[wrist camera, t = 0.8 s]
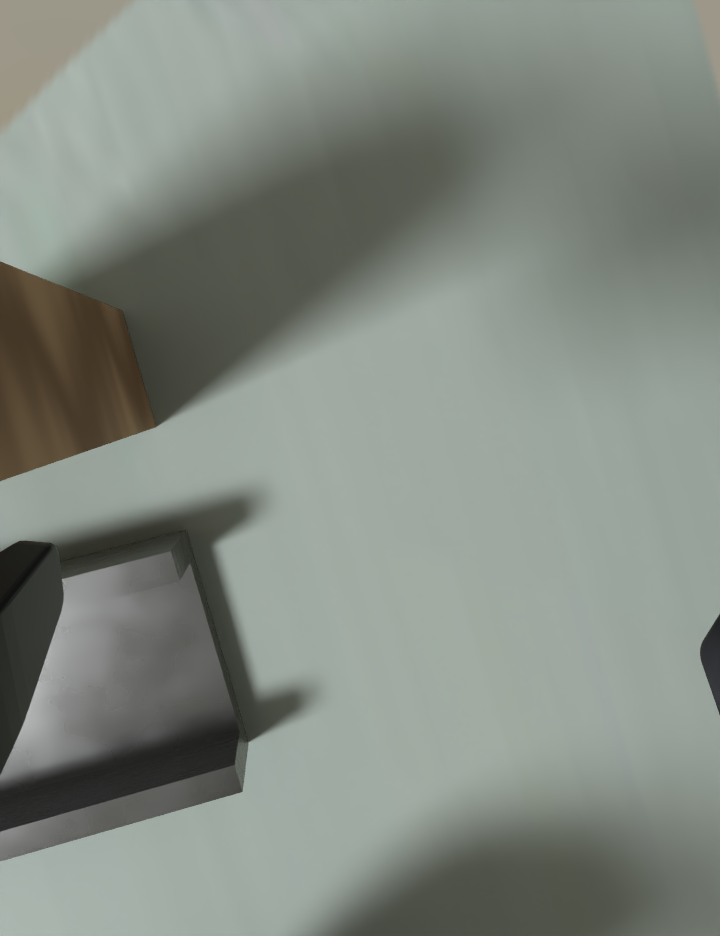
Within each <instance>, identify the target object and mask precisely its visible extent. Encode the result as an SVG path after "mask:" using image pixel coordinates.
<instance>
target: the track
mask: <svg viewBox="0 0 720 936" xmlns="http://www.w3.org/2000/svg"><path fill="white" fill-rule="evenodd" d="M60 566H61V574H62V583H63V591H64V600H63V606H62V611H61V614H60V617H59V620H58V623H57V626H56V629H55V632H54V635H53V638H52V641H51V644H50V647H49V650H48V653H47V656H46V659H45V662H44V665H43V668H42V671H41V674H40V677H39V680H38V683H37V686H36V689H35V692H34V695H33V698H32V701H31V704H30V707H29V710H28V712H27V715H26V718H25V721H24V724H23V726H22V729H21V731H20V733H19V736H18V738H17V740H16V742H15V745H14V747H13V749H12V751H11V753H10V756H9V758H8V760H7V762H6V764H5V766H4V768H3V771H2V773H1V775H0V861H3V860H7V859H10V858H14V857H17V856H21V855H24V854H27V853H31V852H34V851H38V850H41V849H45V848H48V847H52V846H55V845H59V844H62V843H66V842H69V841H73V840H76V839H80V838H83V837H87V836H90V835H94V834H97V833H101V832H104V831H108V830H111V829H115V828H118V827H122V826H125V825H129V824H132V823H135V822H139V821H142V820H146V819H149V818H153V817H156V816H160V815H163V814H167V813H170V812H174V811H177V810H181V809H184V808H188V807H191V806H195V805H198V804H202V803H205V802H209V801H212V800H216V799H219V798H223V797H226V796H230V795H233V794H236V793H240V792H243V784H244V775H245V767H246V759H247V751H248V740H247V736H246V733H245V730H244V726H243V723H242V719H241V716H240V713H239V709H238V706H237V702H236V699H235V695H234V692H233V689H232V685H231V682H230V678H229V675H228V671H227V668H226V665H225V661H224V658H223V654H222V651H221V648H220V644H219V641H218V637H217V634H216V630H215V627H214V624H213V620H212V617H211V613H210V610H209V607H208V603H207V600H206V596H205V593H204V589H203V586H202V583H201V579H200V576H199V572H198V569H197V565H196V562H195V559H194V555H193V552H192V548H191V545H190V542H189V538H188V535H187V531H186V530H183V531H179V532H175V533H171V534H168V535H164V536H160V537H156V538H152V539H148V540H144V541H140V542H136V543H132V544H128V545H124V546H120V547H116V548H113V549H109V550H105V551H101V552H97V553H93V554H89V555H85V556H81V557H77V558H73V559H69V560H65V561H62V562H60Z"/></svg>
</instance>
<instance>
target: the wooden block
mask: <svg viewBox="0 0 720 936" xmlns="http://www.w3.org/2000/svg"><path fill="white" fill-rule="evenodd" d="M155 427H156V425H155V421H154V418H153V415H152V411H151V408H150V404H149V401H148V398H147V394H146V391H145V387H144V384H143V380H142V377H141V374H140V370H139V367H138V363H137V360H136V357H135V353H134V350H133V346H132V343H131V339H130V336H129V333H128V329H127V326H126V322H125V319H124V316H123V312H122V311H121V310H119V309H116V308H114V307H112V306H109V305H107V304H104V303H102V302H99V301H97V300H94V299H92V298H89V297H87V296H84V295H82V294H79V293H77V292H74V291H72V290H69V289H67V288H65V287H62V286H60V285H57V284H55V283H52V282H50V281H47V280H45V279H42V278H40V277H37V276H35V275H32V274H30V273H27V272H25V271H22V270H20V269H18V268H15V267H13V266H10V265H8V264H5V263H3V262H0V481H2V480H4V479H7V478H10V477H13V476H16V475H19V474H22V473H25V472H28V471H30V470H33V469H36V468H39V467H42V466H45V465H48V464H51V463H54V462H56V461H59V460H62V459H65V458H68V457H71V456H74V455H77V454H80V453H82V452H85V451H88V450H91V449H94V448H97V447H100V446H103V445H105V444H108V443H111V442H114V441H117V440H120V439H123V438H126V437H129V436H131V435H134V434H137V433H140V432H143V431H146V430H149V429H152V428H155Z"/></svg>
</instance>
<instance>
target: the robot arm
mask: <svg viewBox="0 0 720 936" xmlns="http://www.w3.org/2000/svg"><path fill="white" fill-rule="evenodd" d="M63 600H64V591H63V583H62V574H61V566H60V558H59V552H58V549H57V547H56V546H55V545H54V544H52V543H46V542H34V541H19V542H17V543H15V544H13V545H11V546H9V547H8V548H6V549H4V550H3V551H1V552H0V775H1V773H2V771H3V768H4V766H5V764H6V762H7V760H8V758H9V756H10V753H11V751H12V749H13V747H14V745H15V742H16V740H17V738H18V736H19V733H20V731H21V729H22V726H23V724H24V721H25V718H26V715H27V712H28V710H29V707H30V704H31V701H32V698H33V695H34V692H35V689H36V686H37V683H38V680H39V677H40V674H41V671H42V668H43V665H44V662H45V659H46V656H47V653H48V650H49V647H50V644H51V641H52V638H53V635H54V632H55V629H56V626H57V623H58V620H59V617H60V614H61V611H62V606H63ZM700 656H701V661H702V665H703V667H704V670H705V673H706V676H707V679H708V682H709V685H710V688H711V691H712V693H713V696H714V699H715V702H716V705H717V708H718V711H719V714H720V614H719V616H718V618H717V619H716V621H715V622H714V624H713V626H712V627H711V629H710V630H709V632H708V634H707V635H706V637H705V638H704V640H703V642H702V644H701V648H700Z"/></svg>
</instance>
